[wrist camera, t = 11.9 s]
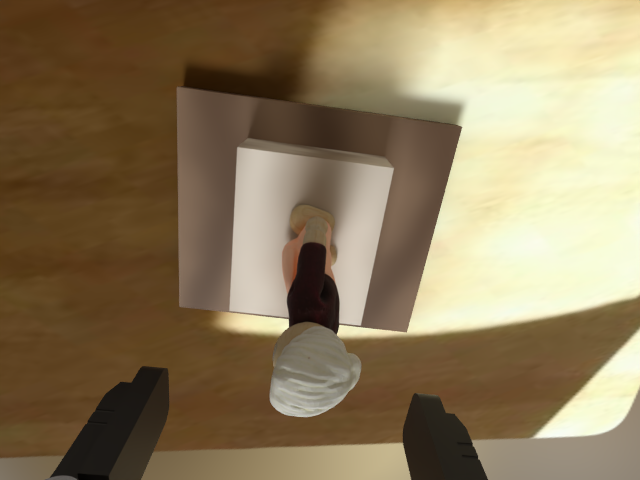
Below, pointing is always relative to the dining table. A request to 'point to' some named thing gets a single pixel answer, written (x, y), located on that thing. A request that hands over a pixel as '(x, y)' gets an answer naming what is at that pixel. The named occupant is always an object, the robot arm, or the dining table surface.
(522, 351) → the dining table surface
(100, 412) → the robot arm
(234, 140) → the plinth
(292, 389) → the grandmother figurine
